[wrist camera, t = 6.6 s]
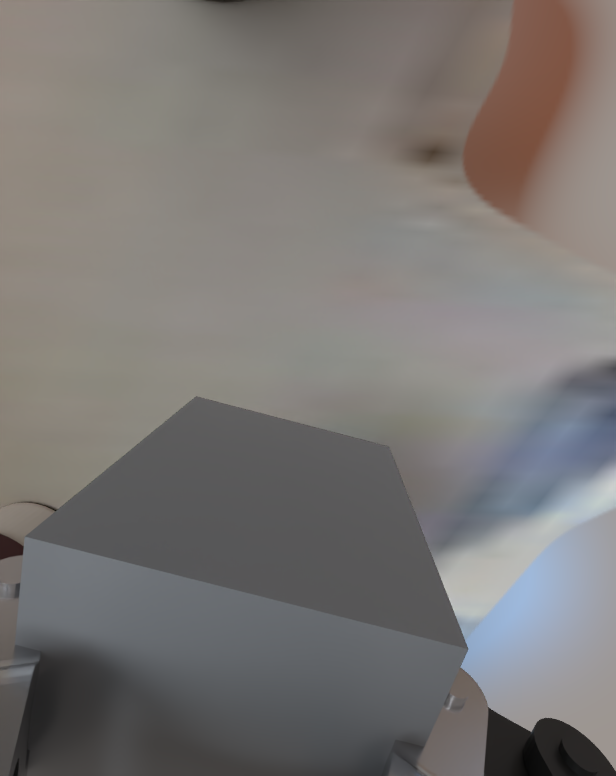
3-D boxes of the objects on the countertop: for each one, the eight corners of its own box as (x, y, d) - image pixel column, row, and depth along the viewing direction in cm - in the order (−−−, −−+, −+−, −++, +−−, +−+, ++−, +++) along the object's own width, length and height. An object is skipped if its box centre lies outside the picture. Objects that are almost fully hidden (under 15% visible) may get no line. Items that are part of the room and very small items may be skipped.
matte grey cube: (196, 396, 12) (24, 535, 5) (388, 446, 12) (468, 648, 5) (163, 562, 13) (-4, 841, 7) (335, 606, 14) (344, 925, 7)
